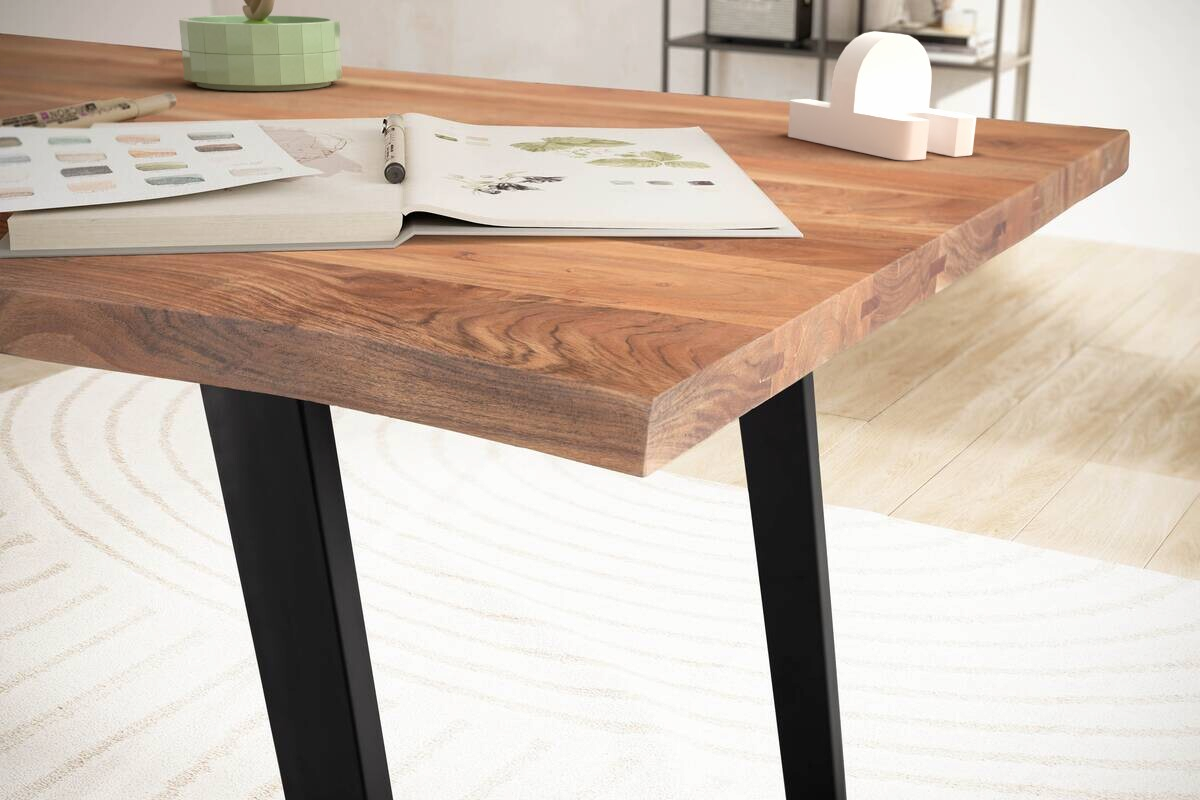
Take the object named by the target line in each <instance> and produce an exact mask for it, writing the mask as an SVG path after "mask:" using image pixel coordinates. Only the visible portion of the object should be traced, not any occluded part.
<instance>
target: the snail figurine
mask: <svg viewBox="0 0 1200 800" xmlns="http://www.w3.org/2000/svg"><path fill="white" fill-rule="evenodd" d="M243 1H244V3H245V4H244V5H242V12H243V15H245V16H246V17H247V18H248V19H250V20H247V21H245V22H243V23H272V22H270V21H267V20H264V19H266V17H268V16H269V15H271V13H272V12H273V10H274V4H275V0H243Z"/></svg>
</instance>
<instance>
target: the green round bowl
mask: <svg viewBox="0 0 1200 800" xmlns="http://www.w3.org/2000/svg"><path fill="white" fill-rule="evenodd" d="M247 20H250V19H248V18H247V17H246V16H245V14H228V15H227V14H226V15H225V14H224V15H222V14H221V15H199V16H186V17H180V18H179V20H178V23H179V32H180V33H179V34H180V35H179V36H180V44H181V45H180V47H181V56H182V66H183V67H182V68H183V79H184V80H185V81H188V82H192V83H195V85H196V86H197V87H199V88H203V89H210V90H218V91H234V92H287V91H304V90H314V89H320V88H325V87H329V86H331V85H332V82H336V81H339V80H340V79H342V78H343V70H342V67H343V66H342V49H341V48H342V46H341V28H340V25H341V24H340V20H339V19H338V18H333V17H325V16H311V15H288V14H287V15H286V14H285V15H281V14H278V15H277V14H270V15H269V16H268V17H266V19H264V20H267V21H270V22H272V23H243V22H245V21H247Z"/></svg>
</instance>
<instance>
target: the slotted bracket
mask: <svg viewBox="0 0 1200 800" xmlns="http://www.w3.org/2000/svg"><path fill="white" fill-rule="evenodd" d="M931 90H932V67H931V61H930V58H929V55H928V53H927V51H926V49H925V47H924V46H923V45H922V43H920V42H919V40H918V39H916V38H914V37H913V36H911V35H910V34H903V33H897V32H896V33H895V32H885V31H877V30H876V31H875V30H874V31H867V32H864V33H861V34H860V35H858V36H856V37H854V38H853V39H852V40H851V41H850V42H849V43H848V44H847V45H846V46H845V47H844V49H843V51H842V52H841V53H840V55H839V56H838V59H837V61H836V64H835V67H834V70H833V74H832V79H831V89H830V101H829V102H828V101H823V100H816V99H812V98H800V99H790V100H789V112H788V113H789V114H788V127H787V137H788V138H793V139H796V140H797V139H798V140H801V141H807V142H810V143H816V144H821V145H825V146H830V147H834V148H839V149H844V150H848V151H853V152H858V153H863V154H868V155H872V156H876V157H879V158H880V157H881V158H886V159H890V160H896V161H918V160H919V161H920V160H926V159H927V152H929V153H933V154H938V155H943V156H948V157H953V158H954V157H957V158H959V157H967V156H972V155H973V151H974V144H975V143H974V142H975V133H976V125H977V115H973V114H969V113H968V114H967V113H963V112H955V111H949V110H942V109H936V108H931V107H930V100H931V92H932V91H931Z"/></svg>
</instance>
